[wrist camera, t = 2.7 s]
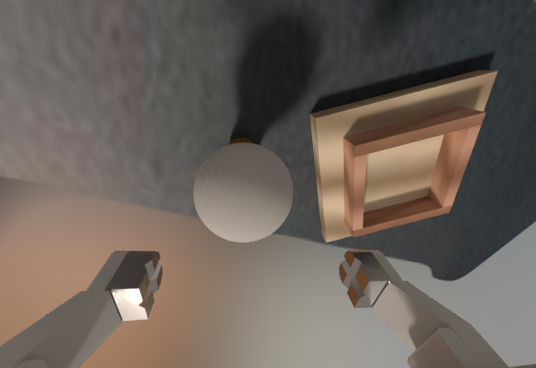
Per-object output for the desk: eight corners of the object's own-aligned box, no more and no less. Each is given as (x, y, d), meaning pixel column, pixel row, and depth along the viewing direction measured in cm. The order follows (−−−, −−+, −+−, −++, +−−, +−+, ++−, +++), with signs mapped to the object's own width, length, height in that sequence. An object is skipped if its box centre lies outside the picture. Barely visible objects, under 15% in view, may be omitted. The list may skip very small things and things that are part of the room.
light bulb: (286, 148, 19) (327, 221, 11) (242, 187, 21) (246, 278, 12) (240, 99, 16) (247, 144, 8) (193, 148, 18) (155, 231, 9)
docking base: (309, 113, 18) (325, 125, 15) (478, 70, 18) (528, 72, 15) (321, 233, 26) (333, 256, 23) (437, 203, 26) (463, 222, 23)
